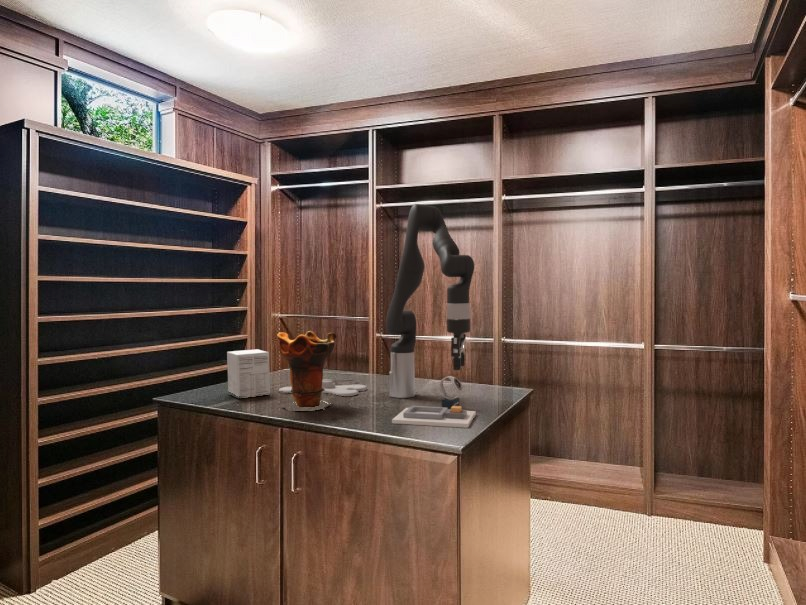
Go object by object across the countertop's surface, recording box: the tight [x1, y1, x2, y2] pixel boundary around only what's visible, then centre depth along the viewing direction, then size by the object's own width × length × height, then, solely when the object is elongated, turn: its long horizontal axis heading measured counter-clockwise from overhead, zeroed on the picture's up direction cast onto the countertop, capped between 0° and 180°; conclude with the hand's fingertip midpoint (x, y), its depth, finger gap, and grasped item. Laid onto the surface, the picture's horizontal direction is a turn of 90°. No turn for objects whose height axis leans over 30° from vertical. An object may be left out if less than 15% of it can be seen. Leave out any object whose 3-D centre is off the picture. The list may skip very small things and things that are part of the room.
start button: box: [451, 405, 463, 413], centre depth 179 cm, size 3×3×2 cm
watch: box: [439, 375, 463, 410], centre depth 197 cm, size 6×8×11 cm
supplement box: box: [226, 348, 271, 397], centre depth 224 cm, size 13×13×18 cm
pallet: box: [391, 405, 477, 429], centre depth 181 cm, size 24×17×3 cm
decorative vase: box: [276, 330, 337, 409], centre depth 202 cm, size 21×23×28 cm
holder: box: [278, 378, 368, 396], centre depth 231 cm, size 19×34×5 cm, turn 73°
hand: (459, 367), depth 179 cm, fingers open, 8 cm apart
